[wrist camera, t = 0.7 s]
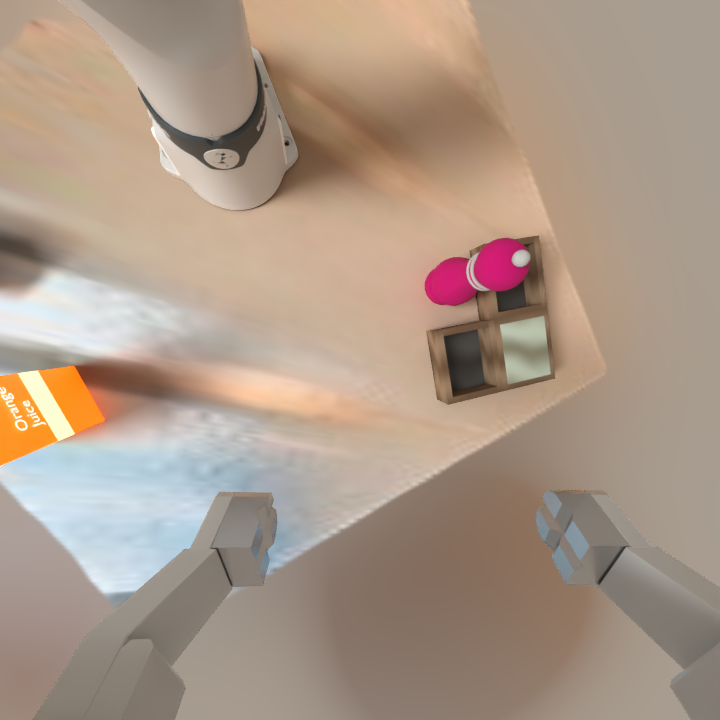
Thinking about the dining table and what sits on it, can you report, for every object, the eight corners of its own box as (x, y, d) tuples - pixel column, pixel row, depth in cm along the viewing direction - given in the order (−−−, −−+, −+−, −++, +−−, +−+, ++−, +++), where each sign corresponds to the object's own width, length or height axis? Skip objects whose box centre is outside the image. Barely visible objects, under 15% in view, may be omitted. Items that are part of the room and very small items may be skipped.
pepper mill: (418, 303, 51) (489, 283, 31) (425, 260, 50) (503, 212, 31) (457, 311, 52) (549, 297, 33) (465, 269, 52) (562, 229, 32)
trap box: (414, 259, 50) (425, 253, 46) (521, 242, 53) (540, 234, 49) (437, 399, 53) (449, 405, 49) (537, 375, 56) (556, 378, 52)
